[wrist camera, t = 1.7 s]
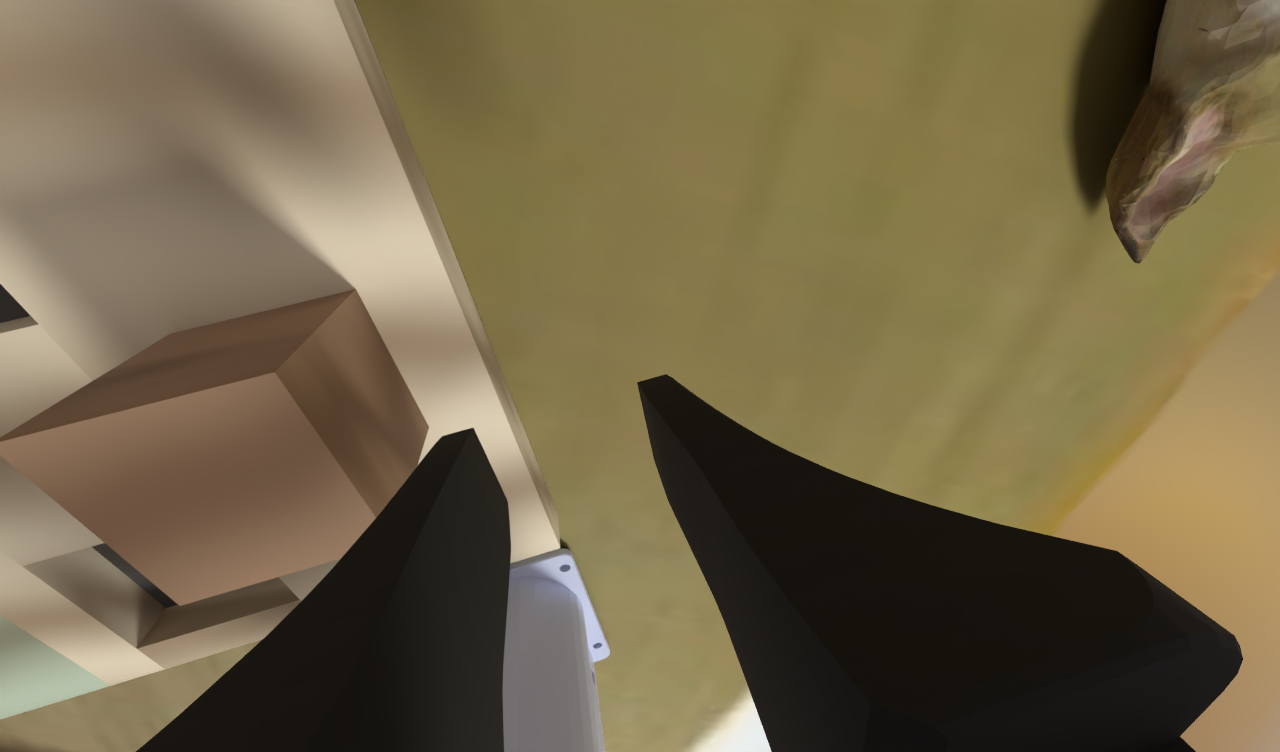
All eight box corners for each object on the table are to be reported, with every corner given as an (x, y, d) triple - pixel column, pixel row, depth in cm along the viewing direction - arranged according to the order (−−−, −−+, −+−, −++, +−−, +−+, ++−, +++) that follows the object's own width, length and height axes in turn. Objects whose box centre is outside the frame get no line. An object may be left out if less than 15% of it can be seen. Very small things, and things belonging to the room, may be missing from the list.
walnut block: (429, 427, 16) (393, 543, 11) (276, 468, 15) (179, 606, 11) (355, 289, 13) (274, 372, 9) (169, 334, 13) (-13, 445, 8)
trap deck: (557, 513, 21) (563, 588, 18) (-61, 698, 19) (-188, 825, 16) (333, -54, 11) (248, -129, 8) (-1080, 189, 9) (-2116, 235, 5)
